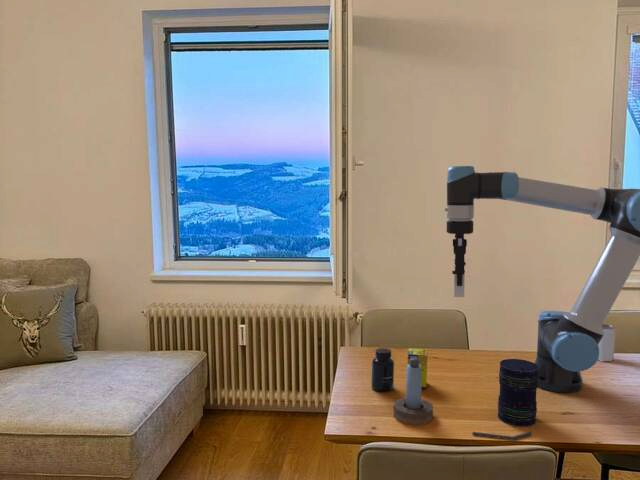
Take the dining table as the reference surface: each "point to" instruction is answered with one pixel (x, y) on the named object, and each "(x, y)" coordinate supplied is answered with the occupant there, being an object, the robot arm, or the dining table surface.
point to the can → (607, 343)
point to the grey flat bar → (503, 435)
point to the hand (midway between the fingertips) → (459, 291)
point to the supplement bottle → (382, 371)
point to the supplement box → (420, 362)
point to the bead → (413, 412)
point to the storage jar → (518, 392)
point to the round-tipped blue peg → (413, 385)
